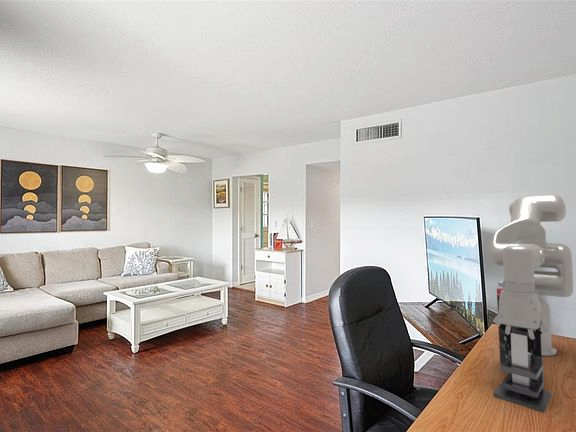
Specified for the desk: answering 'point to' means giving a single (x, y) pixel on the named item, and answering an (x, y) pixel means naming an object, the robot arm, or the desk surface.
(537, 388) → the collar stand
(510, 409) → the desk surface
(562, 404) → the desk surface
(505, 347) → the graphics card box
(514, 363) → the silver square metal bar
